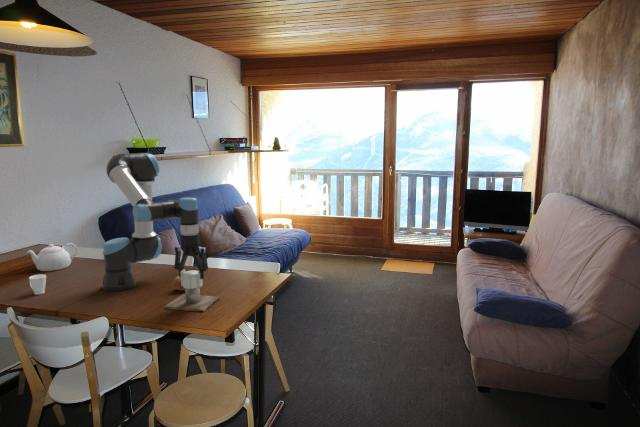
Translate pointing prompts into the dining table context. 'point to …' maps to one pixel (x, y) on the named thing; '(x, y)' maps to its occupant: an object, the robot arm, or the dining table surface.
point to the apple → (178, 283)
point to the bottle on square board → (192, 301)
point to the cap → (190, 279)
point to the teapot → (52, 258)
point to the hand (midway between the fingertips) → (192, 285)
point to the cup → (38, 283)
